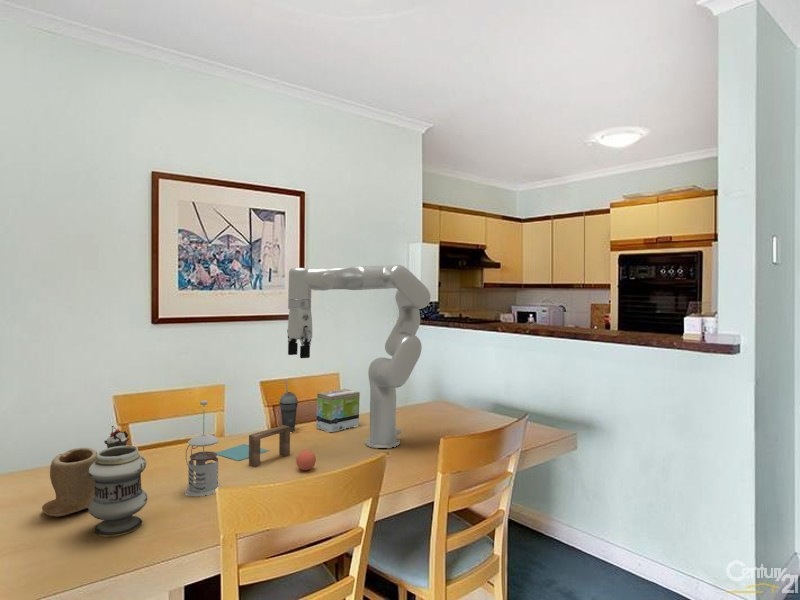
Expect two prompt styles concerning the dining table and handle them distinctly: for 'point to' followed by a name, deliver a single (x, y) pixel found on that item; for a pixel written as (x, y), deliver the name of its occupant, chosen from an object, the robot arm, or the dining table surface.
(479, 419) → the dining table surface
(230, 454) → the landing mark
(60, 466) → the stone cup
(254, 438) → the bridge
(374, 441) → the robot arm
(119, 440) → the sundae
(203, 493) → the french press
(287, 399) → the beverage cup
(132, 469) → the apothecary jar
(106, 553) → the dining table surface
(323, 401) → the tea box
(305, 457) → the ball
